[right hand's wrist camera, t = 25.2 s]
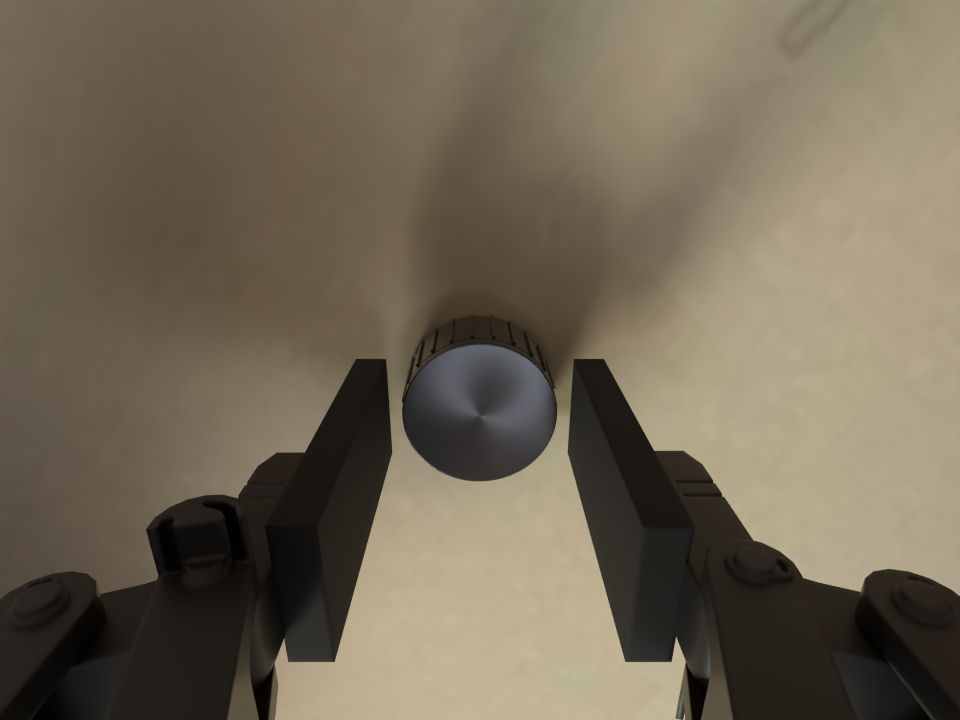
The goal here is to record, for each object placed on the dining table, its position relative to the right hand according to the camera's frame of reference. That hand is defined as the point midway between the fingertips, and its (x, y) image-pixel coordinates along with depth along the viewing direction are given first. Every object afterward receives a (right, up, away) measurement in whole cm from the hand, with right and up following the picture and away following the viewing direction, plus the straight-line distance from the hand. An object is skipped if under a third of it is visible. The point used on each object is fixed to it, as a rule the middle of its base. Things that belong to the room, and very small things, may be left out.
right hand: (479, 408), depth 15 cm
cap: (0, 0, 0) cm, 0 cm away
